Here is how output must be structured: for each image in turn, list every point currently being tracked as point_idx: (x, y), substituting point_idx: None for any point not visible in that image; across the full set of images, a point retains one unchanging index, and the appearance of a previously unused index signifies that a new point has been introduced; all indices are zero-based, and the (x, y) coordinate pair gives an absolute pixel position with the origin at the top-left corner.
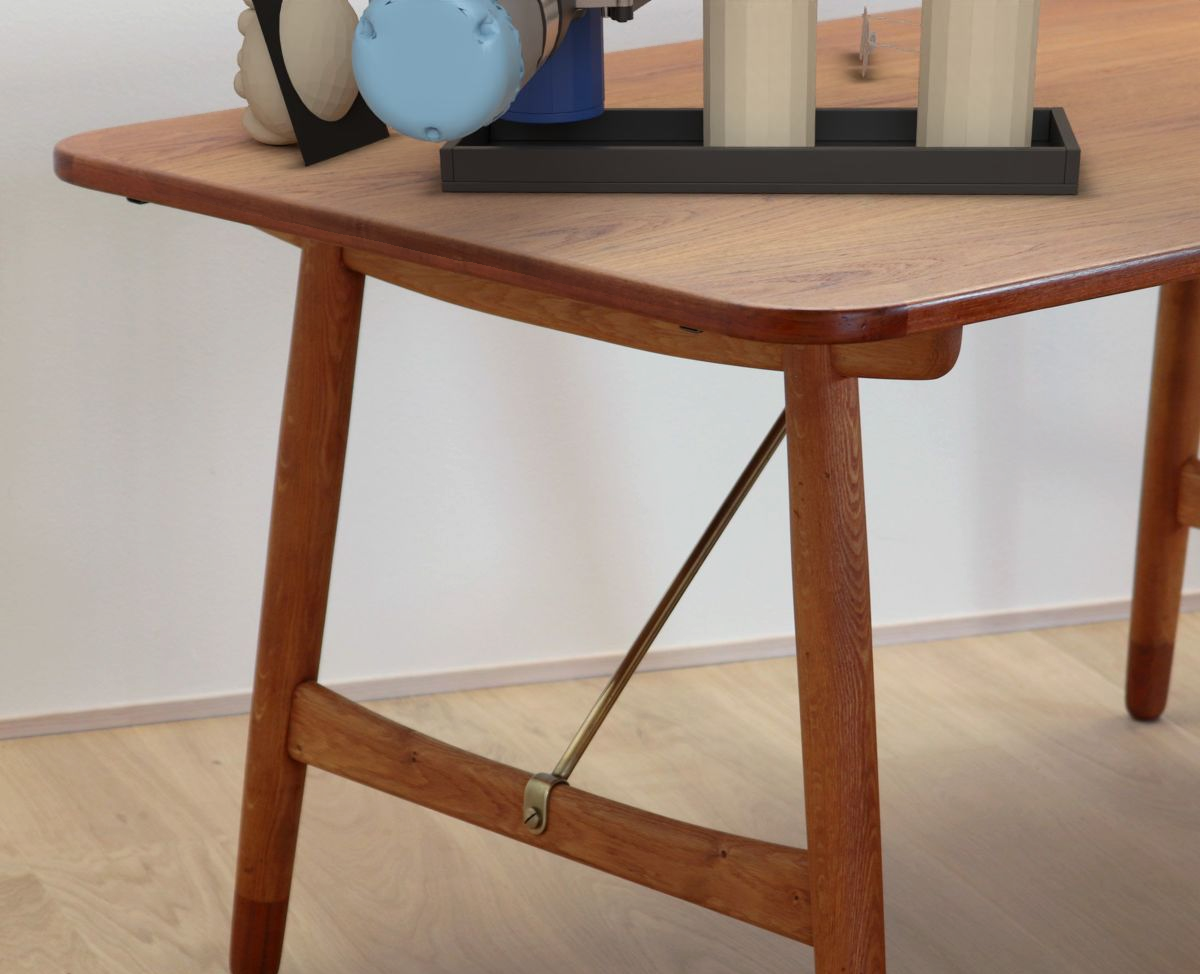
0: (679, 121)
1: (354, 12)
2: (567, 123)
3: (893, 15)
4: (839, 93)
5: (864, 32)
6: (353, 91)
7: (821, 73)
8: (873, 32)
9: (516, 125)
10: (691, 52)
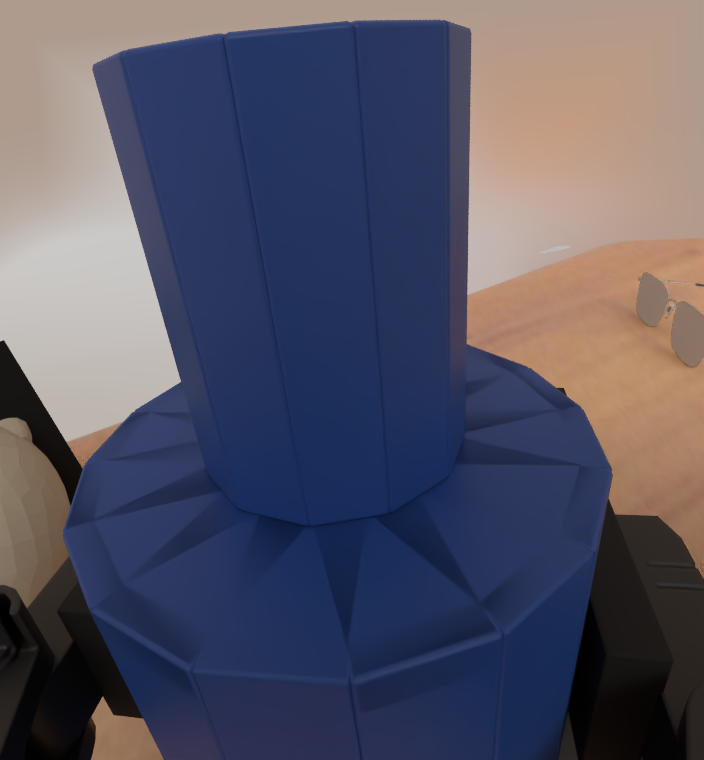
0: None
1: (18, 475)
2: None
3: (604, 249)
4: (696, 409)
5: (660, 303)
6: None
7: (629, 353)
8: (673, 305)
9: None
10: (477, 311)
